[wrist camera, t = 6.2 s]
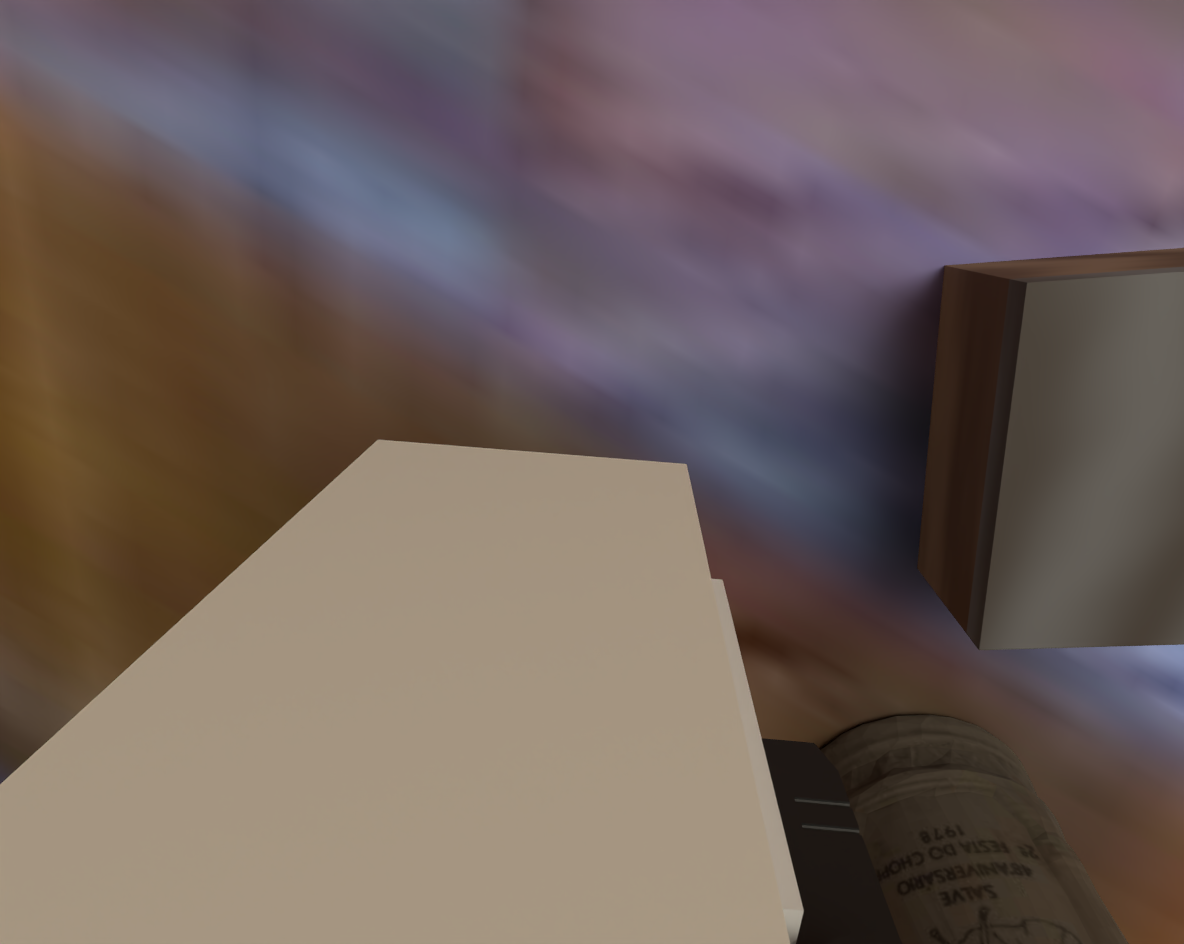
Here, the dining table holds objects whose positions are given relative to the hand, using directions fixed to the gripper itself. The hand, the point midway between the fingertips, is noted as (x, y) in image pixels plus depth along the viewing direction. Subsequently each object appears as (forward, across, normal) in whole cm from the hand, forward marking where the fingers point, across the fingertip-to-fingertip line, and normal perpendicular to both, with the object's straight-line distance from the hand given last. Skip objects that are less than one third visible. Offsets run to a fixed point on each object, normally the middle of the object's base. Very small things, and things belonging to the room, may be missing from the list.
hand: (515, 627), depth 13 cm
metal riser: (+15, +20, +1) cm, 25 cm away
